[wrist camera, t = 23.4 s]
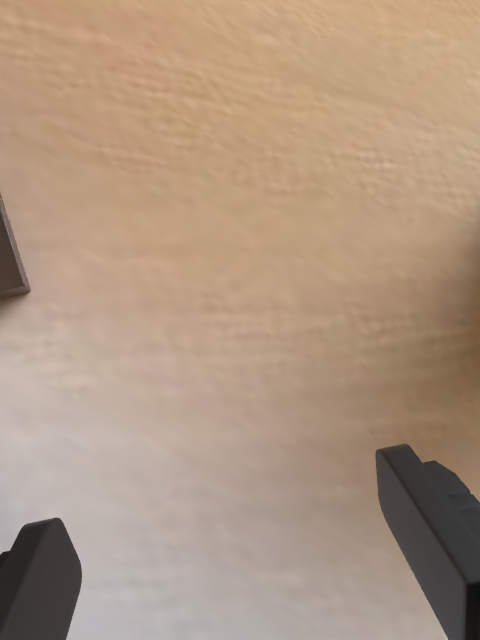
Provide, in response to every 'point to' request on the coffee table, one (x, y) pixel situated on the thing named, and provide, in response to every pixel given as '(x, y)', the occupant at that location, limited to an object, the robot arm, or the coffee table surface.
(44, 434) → the coffee table surface
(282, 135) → the coffee table surface
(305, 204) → the coffee table surface
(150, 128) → the coffee table surface
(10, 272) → the blue-grey flat block
